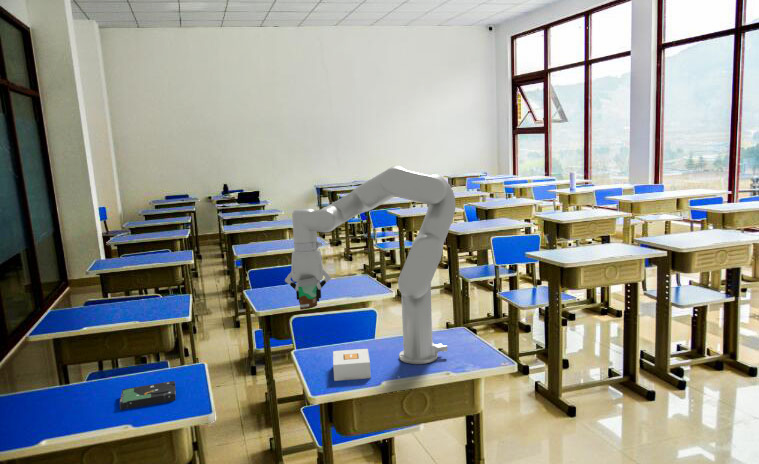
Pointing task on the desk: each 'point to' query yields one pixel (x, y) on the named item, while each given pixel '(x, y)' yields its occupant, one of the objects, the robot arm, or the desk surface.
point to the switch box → (351, 365)
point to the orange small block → (351, 356)
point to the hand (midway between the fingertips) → (309, 300)
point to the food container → (308, 293)
